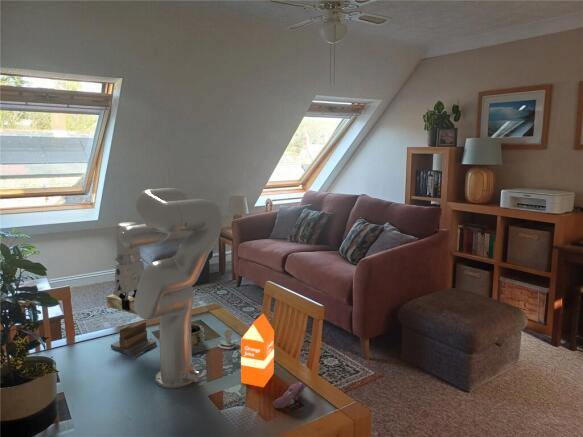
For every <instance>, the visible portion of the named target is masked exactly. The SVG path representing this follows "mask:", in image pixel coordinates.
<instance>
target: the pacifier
mask: <svg viewBox="0 0 583 437" xmlns="http://www.w3.org/2000/svg"><path fill="white" fill-rule="evenodd" d="M223 333H224V334H223V335H224V337H223V336H219V337H218V344H217V347H218V348H219V349H222V350H231V349H234V348H235V345H234V344H236V343H237V342H238V341H239V339H233V340H232V336H233V331H232V329H230V328H226V329H225V330H224V332H223Z"/></svg>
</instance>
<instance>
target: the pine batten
mask: <svg viewBox="0 0 583 437" xmlns="http://www.w3.org/2000/svg"><path fill="white" fill-rule="evenodd" d="M128 300H129V301H130V302H129V305H130V310H129V311H126V310H123V309H122V299H120V298H119V297H118V296H115V295H113V293H112V294H109V295H106V306H107V308H110V309H114V310H116V311H117V310H118V311H122V312H124V313H129V314H133V315H137V316H138V314H137V313H136V311H135V306H134V300H135V298H134V297H132V296H130V295H128Z"/></svg>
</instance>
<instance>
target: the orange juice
mask: <svg viewBox="0 0 583 437" xmlns="http://www.w3.org/2000/svg"><path fill="white" fill-rule="evenodd" d="M240 343H241V344H240V345H241V346H240V347H241V348H240V354H241V356H240V378H241V379H240V382H241V383H242V384H246V385H250V386H251V385H252V386H255V387H260V388H264V387H265V386H266V384H267V383H268V382H269V380H270V379H271V377H273V375H274V369H275V368H274V365H275V362H274V361H275V360H274V358H275V330H274V329H273V327H272V325H271V323H270V322H269V320H268V319H267V317H266V315H265V314H264V313H262V314H261V315H259V317H258V318H256V319H255V320H254V321H253V322H252V325H250V327H249V329H248V330H247V331H246V332H245V333H244V334H243V336H242V337H241V339H240Z"/></svg>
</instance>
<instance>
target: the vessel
mask: <svg viewBox="0 0 583 437" xmlns="http://www.w3.org/2000/svg"><path fill="white" fill-rule="evenodd" d="M202 330H203V326H202V325H200V324H197V323H191V350H194V349H198V348H199V347H201V346H202V343H203V334H202Z"/></svg>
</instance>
